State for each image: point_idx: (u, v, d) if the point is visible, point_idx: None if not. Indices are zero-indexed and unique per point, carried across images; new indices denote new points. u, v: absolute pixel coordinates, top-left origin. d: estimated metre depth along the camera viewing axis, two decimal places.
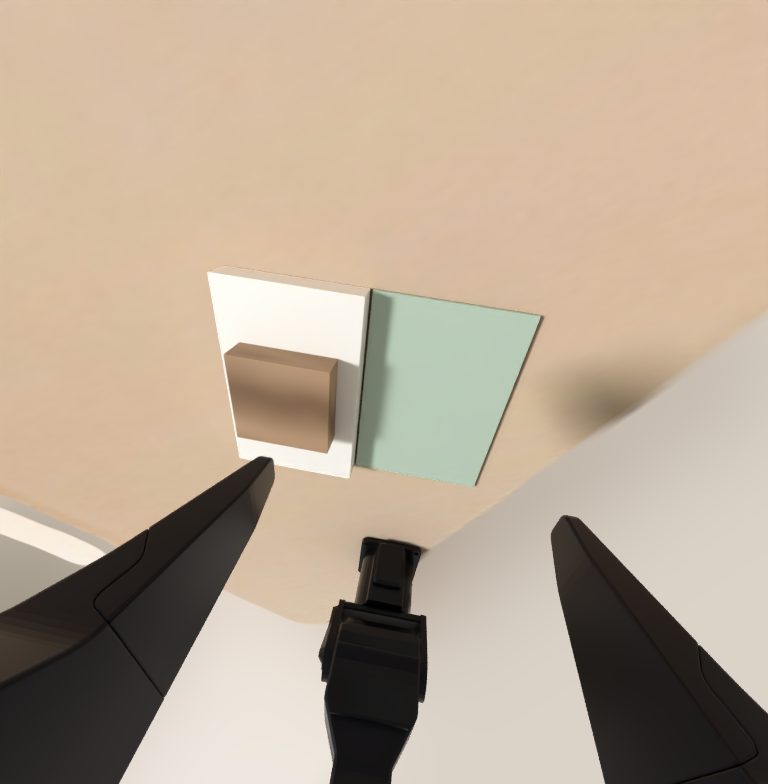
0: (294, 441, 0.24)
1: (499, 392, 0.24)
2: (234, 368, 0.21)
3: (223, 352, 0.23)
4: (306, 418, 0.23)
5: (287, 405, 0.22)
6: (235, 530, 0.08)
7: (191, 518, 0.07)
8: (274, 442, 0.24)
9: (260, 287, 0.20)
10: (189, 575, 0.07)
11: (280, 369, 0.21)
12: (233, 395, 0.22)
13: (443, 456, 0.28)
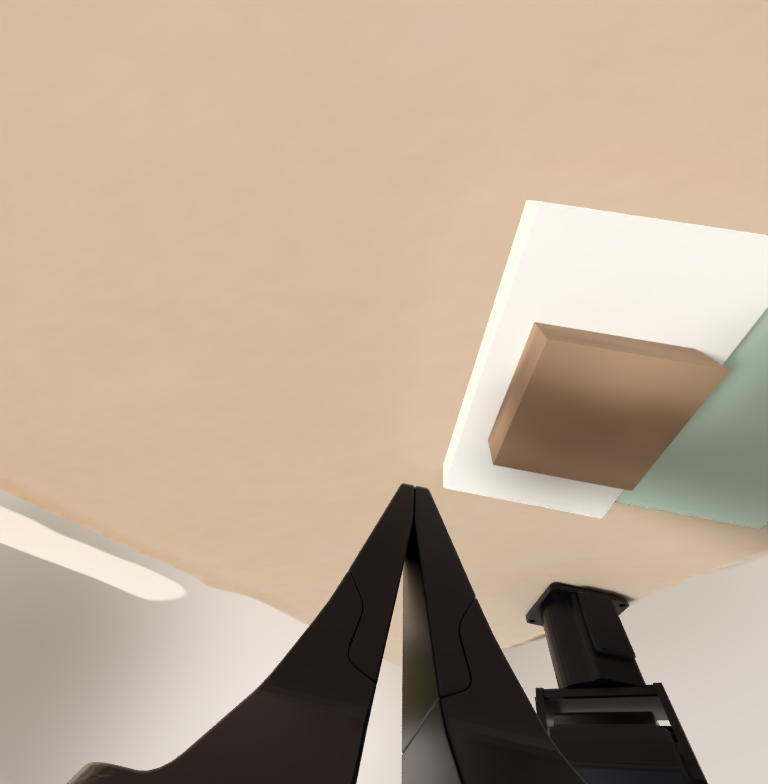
0: (587, 472, 0.16)
1: None
2: (552, 362, 0.13)
3: (497, 338, 0.15)
4: (633, 440, 0.15)
5: (611, 421, 0.14)
6: None
7: (382, 558, 0.07)
8: (551, 473, 0.16)
9: (625, 228, 0.12)
10: None
11: (638, 364, 0.13)
12: (523, 405, 0.14)
13: (740, 488, 0.20)
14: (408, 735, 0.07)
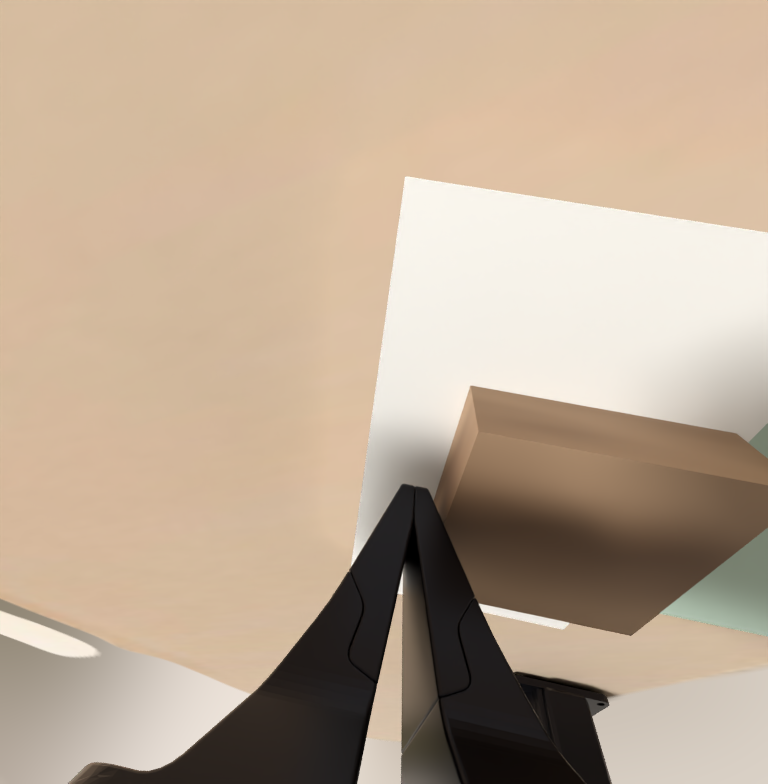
0: (561, 610, 0.10)
1: None
2: (492, 465, 0.08)
3: (380, 402, 0.09)
4: (633, 577, 0.09)
5: (597, 551, 0.09)
6: None
7: (383, 558, 0.07)
8: (507, 606, 0.11)
9: (564, 228, 0.07)
10: None
11: (641, 476, 0.07)
12: (452, 522, 0.09)
13: (755, 593, 0.14)
14: (407, 735, 0.07)
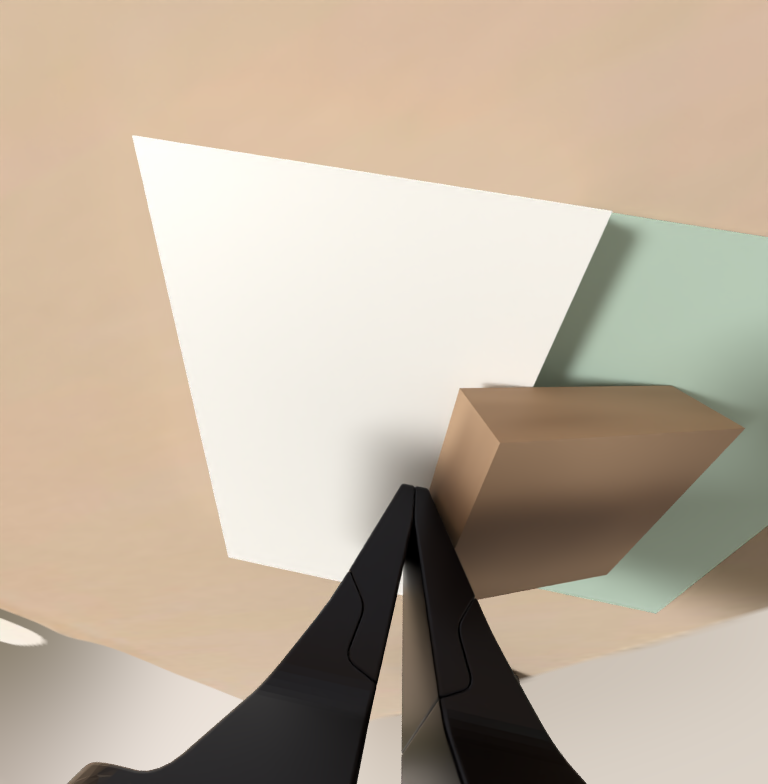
0: (556, 576, 0.11)
1: None
2: (510, 472, 0.07)
3: (190, 366, 0.10)
4: (615, 530, 0.10)
5: (591, 519, 0.09)
6: None
7: (383, 558, 0.07)
8: (511, 591, 0.11)
9: (288, 185, 0.07)
10: None
11: (635, 447, 0.08)
12: (466, 536, 0.08)
13: (618, 566, 0.14)
14: (408, 735, 0.07)
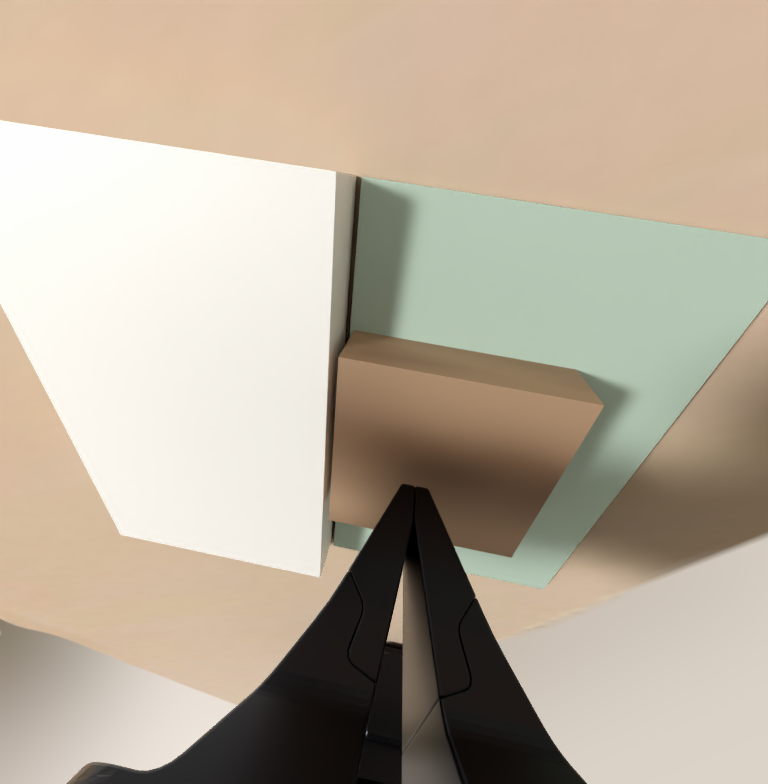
0: (448, 533, 0.12)
1: (638, 431, 0.11)
2: (356, 389, 0.09)
3: (22, 337, 0.10)
4: (495, 496, 0.10)
5: (460, 470, 0.10)
6: None
7: (382, 558, 0.07)
8: None
9: (48, 152, 0.07)
10: None
11: (473, 395, 0.09)
12: (338, 447, 0.10)
13: None
14: (408, 735, 0.07)
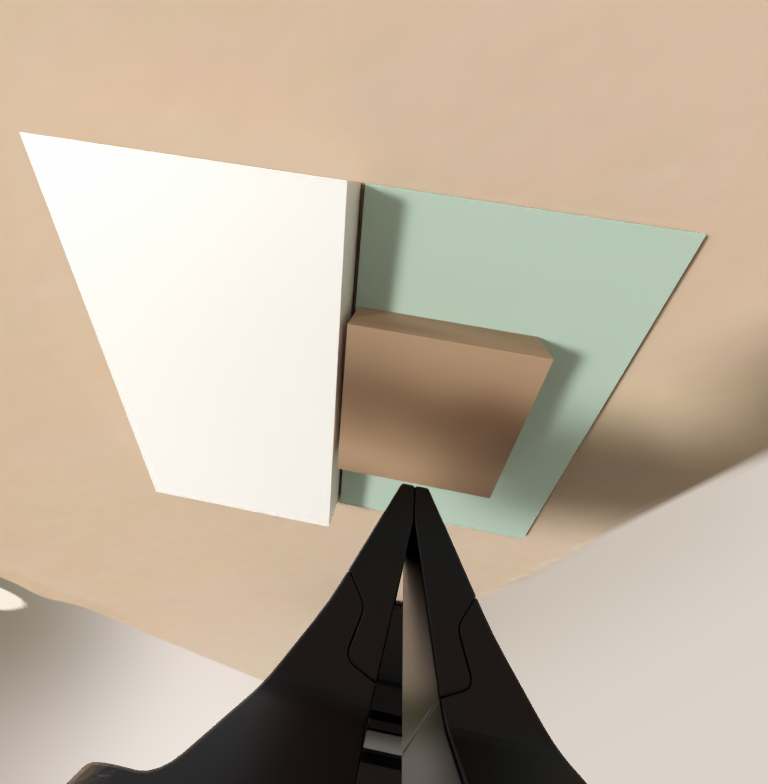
0: (436, 477, 0.14)
1: (591, 389, 0.13)
2: (361, 350, 0.11)
3: (92, 312, 0.13)
4: (474, 441, 0.13)
5: (444, 419, 0.13)
6: None
7: (382, 558, 0.07)
8: (400, 478, 0.15)
9: (131, 166, 0.10)
10: None
11: (453, 353, 0.11)
12: (347, 401, 0.13)
13: None
14: (408, 735, 0.07)
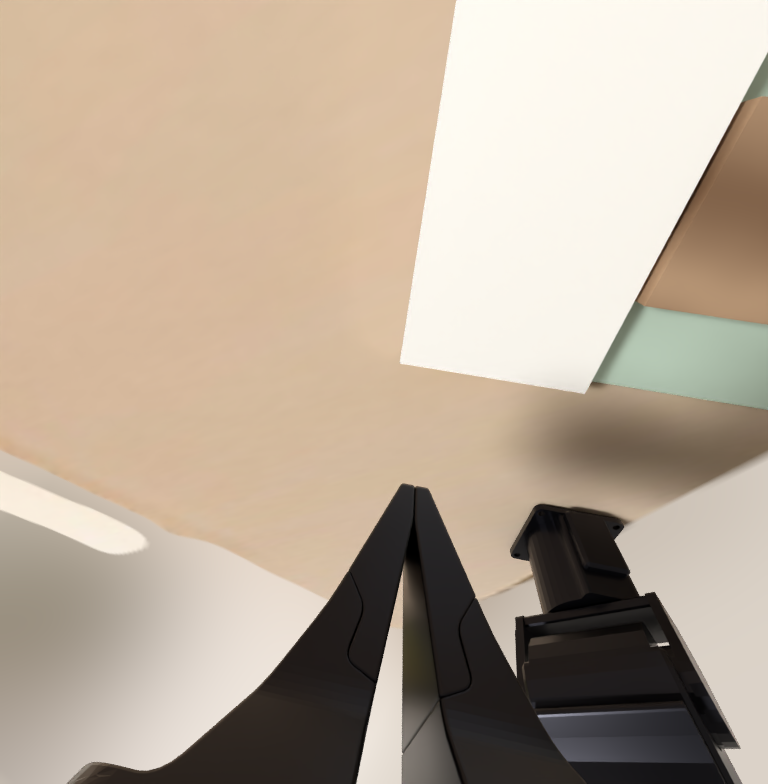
0: (761, 307, 0.14)
1: None
2: (760, 133, 0.11)
3: (443, 117, 0.12)
4: None
5: None
6: None
7: (382, 558, 0.07)
8: (715, 313, 0.14)
9: None
10: None
11: None
12: (705, 208, 0.12)
13: (749, 352, 0.17)
14: (408, 735, 0.07)
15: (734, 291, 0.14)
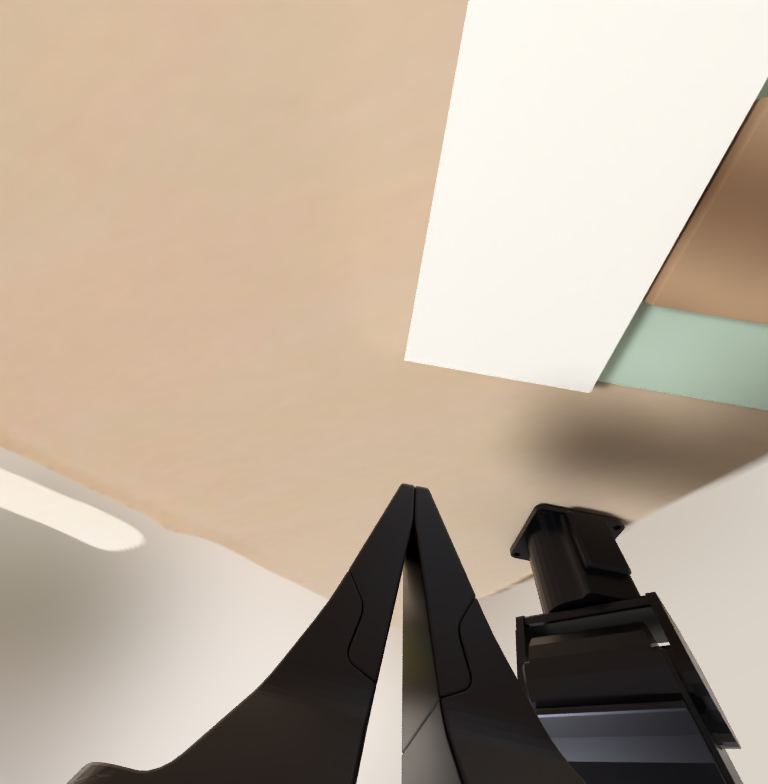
0: None
1: None
2: None
3: (453, 111, 0.12)
4: None
5: None
6: None
7: (382, 558, 0.07)
8: (723, 313, 0.14)
9: None
10: None
11: None
12: (715, 207, 0.12)
13: (754, 354, 0.17)
14: (408, 735, 0.07)
15: (742, 291, 0.13)
